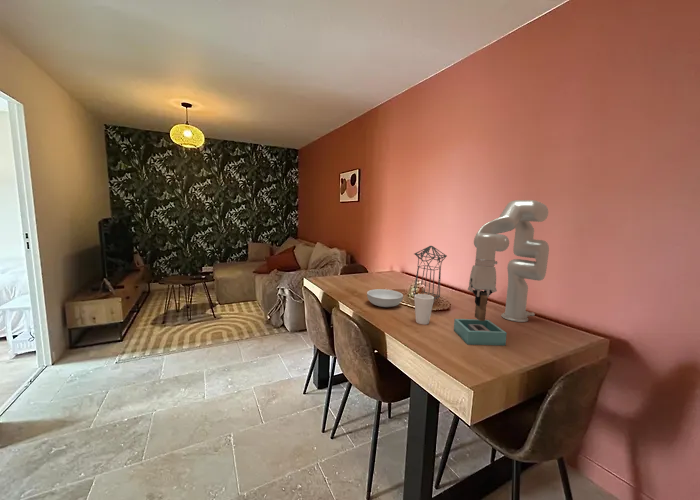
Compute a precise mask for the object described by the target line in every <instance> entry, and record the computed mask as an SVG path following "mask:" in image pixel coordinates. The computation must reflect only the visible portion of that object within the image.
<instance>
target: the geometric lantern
mask: <svg viewBox="0 0 700 500" xmlns="http://www.w3.org/2000/svg"><path fill="white" fill-rule="evenodd" d="M430 251H432V253H430ZM440 253H441V254H440ZM425 254H426V255H425ZM413 255H415V256H416V258H417V260H418V261H417V268H416V269H417V271H416V276H415V282H414V287H413V291H412V296H415V295H416V293H417V285H418V278H419V269H423V272H422V278H421V285H422V286H423V281H424V275H425V281H424V288H423V289H424V290H423V292H424V294H427V295H431V296H433V297H434V296H435V297H434V301H435V300H436V299H439V298H441V275H442V274H441V270H442V265H443V264H442V263H443V261H444V260H445V259H446V258H447V257H448V255H447V254H445V253H444V252H442V251H440V249H438V248H437V247H435V246H433V245H429V246H427V247H425V248H423V249H420V250H419V251H417V252H415V253H413ZM423 258H425V260H424V259H423ZM427 258H429V259H427ZM420 260H421V262H420ZM433 260H434V261H436V262H437V264H435V266H433V265H432V266H431V265H430V263H431V262H432V261H433ZM425 262H426V263H425ZM419 263H420V264H419ZM422 263H423V264H424V265H421V264H422ZM426 264H427V265H426ZM437 266H438V267H437ZM432 268H433V269H432ZM428 270H429V271H430V273H429V281H428V282H429V284H428V291H427V292H426V287H427V277H428ZM438 270H439V271H438ZM425 271H426V273H425ZM432 271H433V276H432ZM435 271H438V279H437V280H438V281H437V293H436V294H435V292H434V291H435V289H434V288H435V274H436V273H435ZM432 277H433V278H432ZM431 280H432V292H430V291H431ZM421 285H420V286H421Z"/></svg>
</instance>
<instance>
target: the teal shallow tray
mask: <svg viewBox="0 0 700 500" xmlns="http://www.w3.org/2000/svg"><path fill="white" fill-rule="evenodd" d="M453 332H455V333H456V335H458V336H459V338H461V340H463V342H464V343H465V344H466V345H469V346H470V345H471V346H472V345H473V346H476V345H477V346H478V345H479V346H506V343H507V333H508V332H506V331H505V330H503V329H502V328H501V327H499V326H498V325H497V324H495V323H494V322H492V321H491V320H490V319H485V321H479V320H478V319H477V318H476V319H471V318H470V319H469V318H454V322H453Z"/></svg>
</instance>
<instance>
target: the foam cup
mask: <svg viewBox="0 0 700 500" xmlns="http://www.w3.org/2000/svg"><path fill="white" fill-rule="evenodd" d="M413 296H414V295H413ZM434 298H435V297H434V295H433V296H432V294H429V295H428V294H427V293H424V294H423V293H421V294H419V293H417V294H415V296H414V299H413V301H414V314H415V322H416V323H417V324H419V325H429V323H430V320H431V314H432V311H433V310H432V309H433V306H434V305H433V304H434V303H435V300H434Z"/></svg>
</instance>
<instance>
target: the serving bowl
mask: <svg viewBox="0 0 700 500" xmlns="http://www.w3.org/2000/svg"><path fill="white" fill-rule="evenodd" d="M366 296H367V299H368V301H369V302H370V303H371V304H372V305H375V306H378V307H381V308H391V307H397V306H398V305H399V304H401V303H402V302H403V298H404V295H403V293H402V292H400V291H397V290H392V289H385V288H383V289H382V288H378V289H377V288H376V289H374V288H373V289H370V290H367V292H366Z"/></svg>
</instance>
